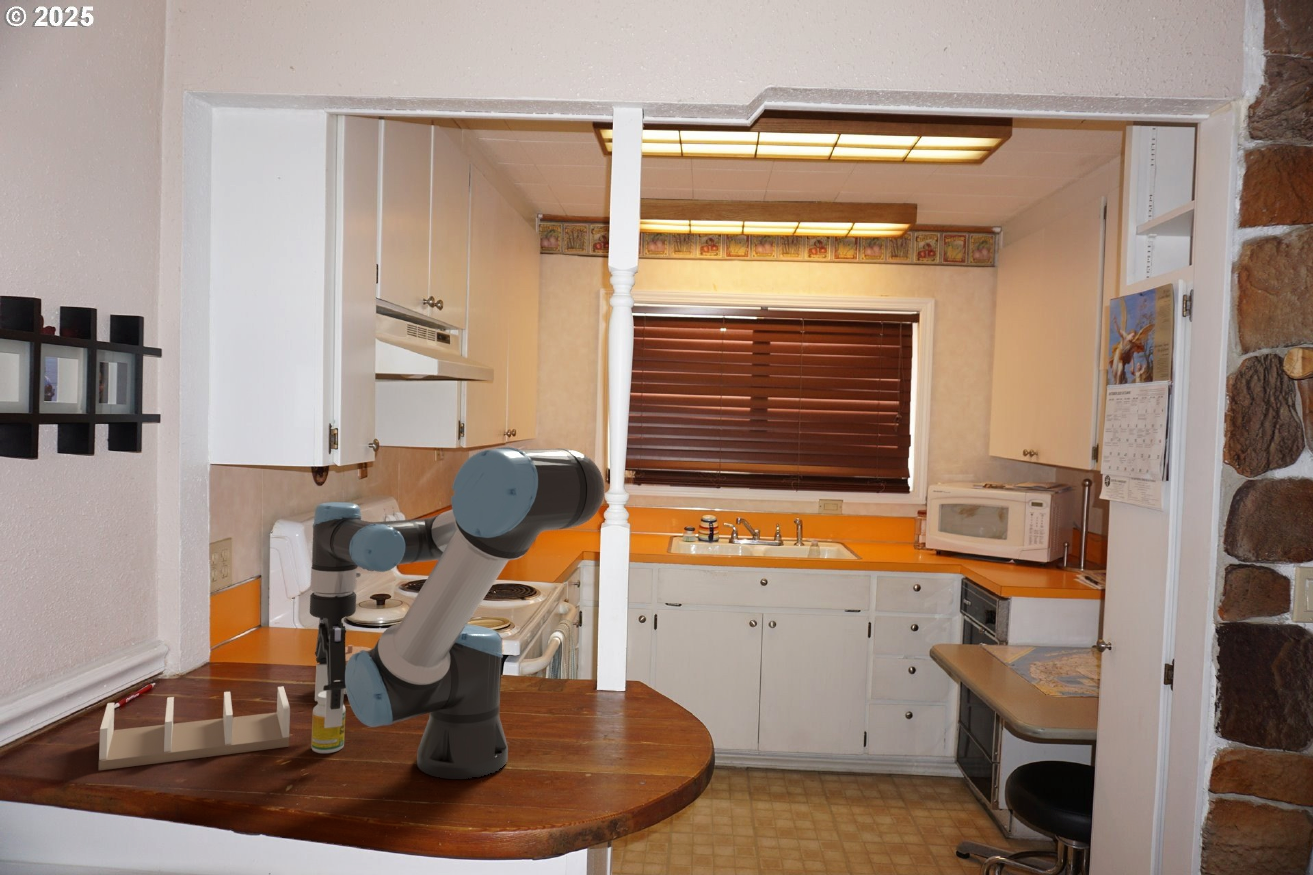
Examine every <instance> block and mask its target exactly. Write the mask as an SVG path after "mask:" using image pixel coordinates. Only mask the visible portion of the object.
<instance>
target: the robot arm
mask: <svg viewBox="0 0 1313 875" xmlns="http://www.w3.org/2000/svg"><path fill="white" fill-rule="evenodd" d="M604 481H605V480H604V479H603V474H602V472H601V470H600V469H599V467H598V466H597V464H596V463H595V462H594V461H593V460H592V459H591V458H589V457H588V456H587V455H586V454H584V453H581V452H580V451H577V450H574V449H573V450H572V449H571V448H570V449H569V448H538V449H537V448H536V449H533V448H532V449H531V448H530V449H527V448H526V449H522V448H520V449H518V448H515V447H509V446H507V447H498V448H493V449H485V450H481V451H479V452H476V453H475V454H473V455H472V456H470V457H469V458H467V459H466V460H465V461H464V463H462V464H461V466H460V468H459V469H458V472H457V473H456V475H455V478H454V480H453V484H452V488H451V489H452V491H454V495H452V496H450V498H451V499H450V500H451V501H450V502H451V507H452V508H451V509H450V510H447V511H444V512H442V513H439V514H437V515H434V516H430V517H425V518H417V519H416V518H415V519H404V520H403V519H400V520H385V521H384V520H383V521H367V520H363V519H362V516H361V515H362V514H361V508H360V506H359V505H358V504H357V503H352V502H343V501H342V502H341V501H339V502H337V501H336V502H335V501H334V502H323V503H319V504H318V505H316V507H315V509H314V520H313V524H312V554H311V556H312V558H311V563H312V564H311V568H310V571H311V572H310V586H309V587H310V588H309V589H310V590H311V592H312V593H311V594H310V596H309V597H310V598H309V614H310V615H311V616H312V617H314V618H318V619H319V623H318V631H317V640H316V646H315V652H314V655H315V661H316V664H315V666H316V669H315V685H314V686H315V687H314V688H315V689H314V701H315V702H317V698H318V694H319V693H320V692H323V691H326V704H325V725H324V727H325V728H330V727H338V726H342V717H343V705H344V696H345V694H344V688H346V692H347V694H346V696H347V699H348V703H349V705H350V707H351V710H352V712H353V714H354V715H355V717H356V719H358V720H359V722H360V723H361V724H363V725H365V726H368V727H370V728H376V727H381V726H391V725H393V724H396V723H398V722H402V721H405V720H409V719H412V718H416V717H417V718H418V717H419V716H424V715H426V714H429V717H428V721H427V723H426V726H425V729H424V731H423V735H422V736H421V739H420V743H419V745H418V748H417V752H416V753H417V754H416V755H417V756H416V765H417V768H418V769H419V771H421V772H423V773H424V774H427V775H429V776H432V777H435V778H439V777H440V778H441V779H446V780H467V779H468V778H469V779H473V778H472V777H477V778H480V777H481V776H482V777H485V776H484V775H486V776H489V775H491V774H490V773H492V774H494V773H496V772H495V771H497V772H498V771H500V770H501V769H500V768H502V767H503V766H504V765H505V764H507V763H508V759H509V758H508V756H509V754H508V753H509V747H508V743H507V738H506V735H505V733H504V728H503V725H502V722H501V717H500V706H501V704H500V703H501V685H502V684H501V682H502V665H503V657H504V654H503V649H502V648H503V645H502V644H503V640H502V636H501V635H500V633H499V632H497V631H496V630H494V629H491V628H489V627H486V626H481V625H476V624H469V622H470V620H471V619H472V618H473V615H474V614H475V613H476V611H477V609H478V607H479V606H480V605H481V603H482V602H483V600H484V599H485V597H486V595H487V594H488V593H489V591H490V590H491V588H492V586H493V585H494V584H495V582H496V580H497V579H498V578H499V576H500V574H501V573H502V572H503V570H504V568H505V567H506V565H507V564H508V562H509V561H514V560H518V559H520V558H522V557H524V556H525V555H526V554H527V553H528V551H529V550H530V548H531V547H532V545H533V544H534V542H535V541H536V539H537V538H538V536H539V535H540V534H541V533H543V532H547V531H556V530H557V531H558V530H563V529H564V530H565V529H566V530H567V529H571V528H575V527H579V526H582V525H584V524H586V523H587V522H589V521H590V520H591V519H592V518H593V517H595V515H596V514H597V513H598V511H599V510H600V508H601V506H602V504H603V501H604V498H605V482H604ZM432 561H436V563H435V565H434V566H433V568H432V570H431V571H430V573H429V575H428V577H426V578H427V579H426V580H425V582H424V583H423V585H422V587H421V588H420V590H419V592H418V593H417V595H416V597H415V598H414V600H413V601H412V603H411V604H410V607H409V608H408V610H407V611H406V613H405V615H404V616H403V618H402V619H401V621H400V622H399V623H396V624H393V625H390V626H389V627H388V628H386V630H384V632H383V633H382V634H381V635H380V636H379V639H378V640H377V642H376V643H375V645H374V647H373V648H371V650H368V651H365V650H361V651H360V652H358V653H355V654H353V655H352V656H351V657H350V659H349V660H348V663H347V666H346V655H345V647H346V633H347V629H346V626H345V625H344V623H343V622H342V620H343V619H344V618H350V617H351V616H353V615H354V614H355V613H356V611H357V610H356V608H357V593H356V592H355V591H356V590H357V578H361V574H362V573H361V571H358V567H359V568H361V569H363V570H367V571H368V572H369V571H370V572H378V573H379V572H380V573H384V572H389V571H391V570H392V569H394V568H396V567H397V566H399V565H406V564H413V563H422V562H432ZM335 680H340V681H338V682H334V681H335ZM506 762H507V763H506ZM505 766H506V765H505ZM505 766H504V767H505ZM504 767H503V768H504ZM503 768H502V769H503ZM499 769H500V770H499ZM488 774H489V775H488ZM469 779H468V780H469Z"/></svg>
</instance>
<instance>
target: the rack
mask: <svg viewBox="0 0 1313 875" xmlns="http://www.w3.org/2000/svg"><path fill="white" fill-rule="evenodd" d="M284 687H285V686H277V697H276V698H277V700H276V712H269V713H260V714H259V713H258V714H251V715H242V716H233V713H234V712H233V706H232V705H233V704H232V695H231V691H224V692H223V713H222V718H215V719H214V718H212V719H205V720H204V719H203V720H195V721H187V722H178V723H177V722H176V723H174V709H175V708H174V705H175V703H174V702H175V696H169V697H167V699H166V706H165V707H166V708H165V718H164V724H159V725H157V724H156V725H150V726H142V727H141V726H140V727H130V728H123V729H115V728H114V727H115V724H114V723H115V702H108V703H107V704H106V707H105V712H104V715H103V718H102V720H101V721H102V722H101V725H100V728H99V751H98V752H99V754H98V755H99V757H98V771H105V770H113V769H123V768H129V767H135V766H136V767H137V766H145V765H152V764H161V763H169V762H176V761H177V762H179V761H183V760H186V761H187V760H192V759H193V760H194V759H199V758H200V759H201V758H207V757H208V758H210V757H217V756H224V755H233V754H241V753H249V752H257V751H264V750H272V749H279V748H287V747H290V721H291V720H290V718H291V717H290V716H291V707H290V703H289V700H288V696H287V694H286V691H285V688H284Z"/></svg>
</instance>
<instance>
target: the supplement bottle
mask: <svg viewBox="0 0 1313 875" xmlns="http://www.w3.org/2000/svg"><path fill="white" fill-rule="evenodd" d="M316 702H317V704H316V705H315V706H314V707H313V708H312V709H313V710H312V719H311V720H312V724H311V725H312V726H311V749H312V752H315V753H318V754H333V753H336V752H338V751H340V750H342V749H343V748H344V746H345V733H346V732H345V728H346V727H345V726H346V706H345V704H343V717H342V726H338V727H330V728H325V727H324V725H325V704H326V691H323V692H320V693H319V694H318V698H317V701H316Z"/></svg>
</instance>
